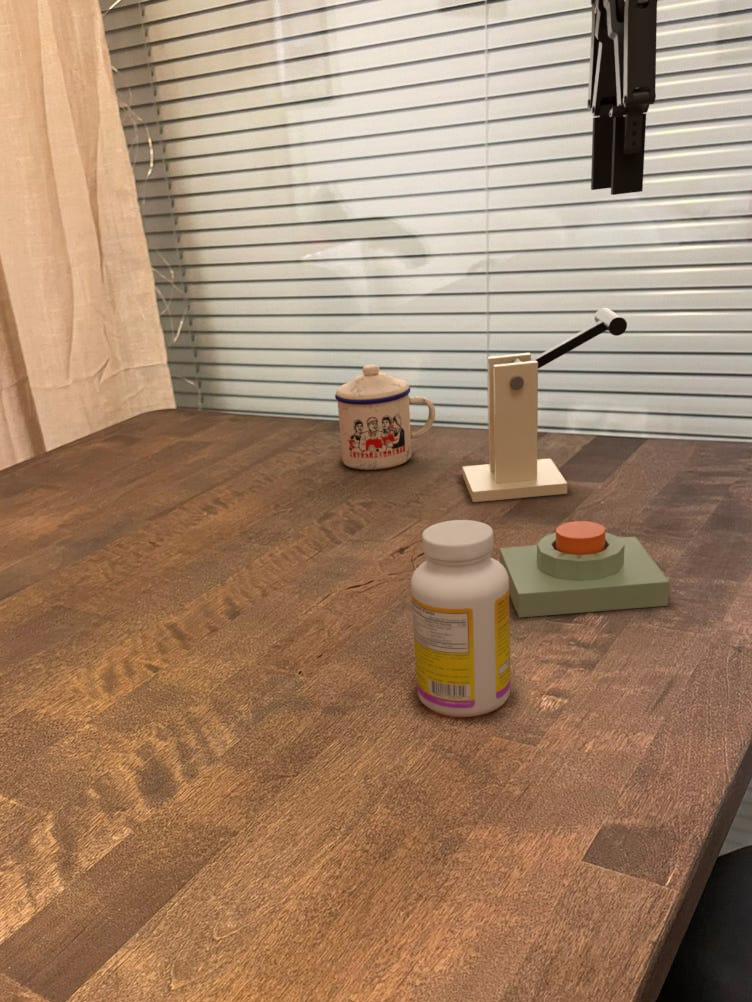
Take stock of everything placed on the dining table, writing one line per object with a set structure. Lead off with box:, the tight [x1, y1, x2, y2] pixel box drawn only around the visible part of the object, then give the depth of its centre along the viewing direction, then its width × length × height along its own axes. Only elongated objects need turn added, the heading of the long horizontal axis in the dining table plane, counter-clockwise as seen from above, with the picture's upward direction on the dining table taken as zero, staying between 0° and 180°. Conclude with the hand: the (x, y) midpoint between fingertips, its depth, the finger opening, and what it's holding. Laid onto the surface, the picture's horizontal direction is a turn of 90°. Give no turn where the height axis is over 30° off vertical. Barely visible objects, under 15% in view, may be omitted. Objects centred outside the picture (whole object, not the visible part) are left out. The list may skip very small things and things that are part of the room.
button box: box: [499, 531, 670, 619], centre depth 86 cm, size 12×10×4 cm
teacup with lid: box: [334, 364, 436, 471], centre depth 123 cm, size 12×9×12 cm
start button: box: [555, 520, 607, 555], centre depth 85 cm, size 4×4×2 cm
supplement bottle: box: [410, 519, 511, 718], centre depth 70 cm, size 7×7×13 cm
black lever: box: [510, 307, 628, 370], centre depth 105 cm, size 13×6×2 cm, turn 87°
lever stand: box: [462, 352, 568, 503], centre depth 109 cm, size 10×9×14 cm
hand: (615, 190), depth 98 cm, fingers open, 7 cm apart
